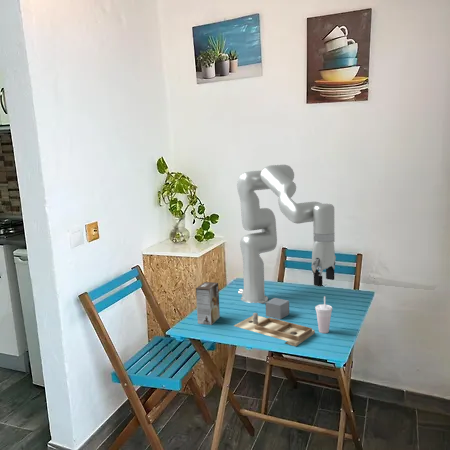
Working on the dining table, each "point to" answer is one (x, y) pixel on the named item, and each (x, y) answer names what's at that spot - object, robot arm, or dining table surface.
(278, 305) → the gray cube
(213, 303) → the coffee box
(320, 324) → the smoothie
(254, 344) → the dining table surface
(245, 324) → the board
